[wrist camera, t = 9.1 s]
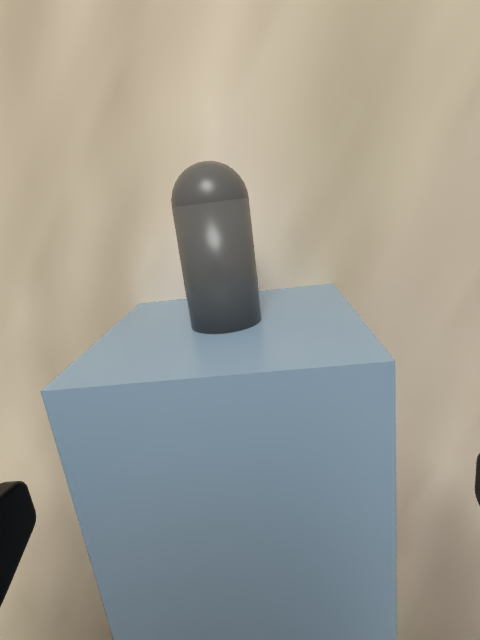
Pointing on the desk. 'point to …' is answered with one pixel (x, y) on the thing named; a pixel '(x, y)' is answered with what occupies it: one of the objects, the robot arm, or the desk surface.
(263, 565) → the slate plug
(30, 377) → the desk surface
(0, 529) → the robot arm
